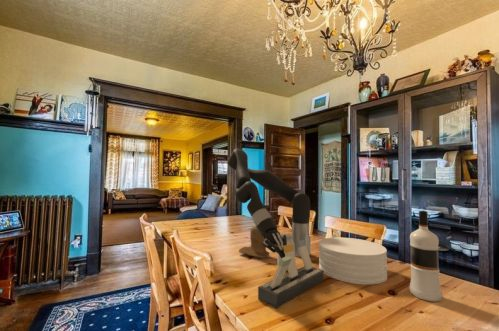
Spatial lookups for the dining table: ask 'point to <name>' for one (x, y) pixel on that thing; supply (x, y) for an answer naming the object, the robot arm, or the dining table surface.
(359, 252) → the plate stack
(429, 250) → the vodka
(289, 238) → the pill bottle
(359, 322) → the dining table surface
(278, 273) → the lever sage
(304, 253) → the lever slate
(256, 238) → the brown boot
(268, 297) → the switch strip
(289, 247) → the lever amber
